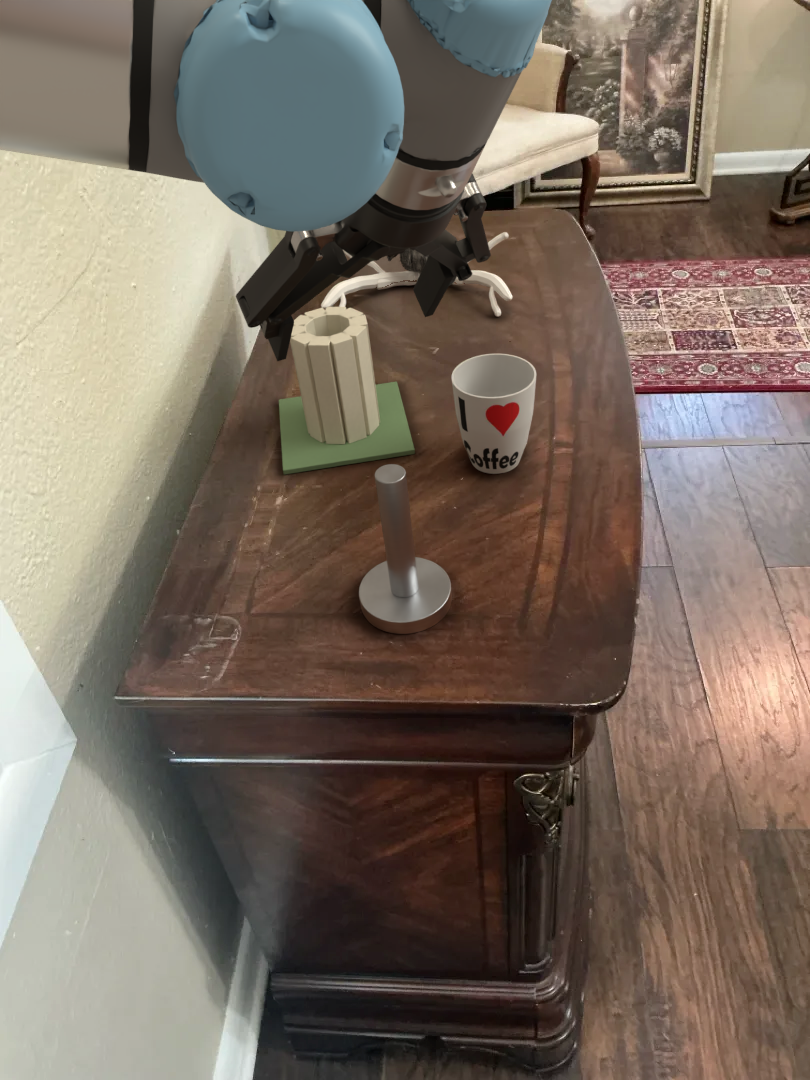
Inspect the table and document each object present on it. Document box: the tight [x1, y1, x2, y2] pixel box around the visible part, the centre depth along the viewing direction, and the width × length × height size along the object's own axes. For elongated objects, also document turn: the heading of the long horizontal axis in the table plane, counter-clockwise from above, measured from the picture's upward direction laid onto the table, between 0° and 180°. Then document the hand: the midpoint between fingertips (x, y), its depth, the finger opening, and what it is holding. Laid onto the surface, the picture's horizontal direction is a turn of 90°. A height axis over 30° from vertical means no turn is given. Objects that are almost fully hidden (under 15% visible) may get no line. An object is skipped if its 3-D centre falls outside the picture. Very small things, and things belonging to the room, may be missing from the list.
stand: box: [358, 463, 453, 635], centre depth 71 cm, size 8×8×14 cm
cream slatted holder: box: [289, 306, 380, 444], centre depth 92 cm, size 8×8×12 cm
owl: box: [320, 231, 514, 318], centre depth 114 cm, size 25×14×13 cm, turn 85°
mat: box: [278, 381, 416, 475], centre depth 96 cm, size 14×14×1 cm
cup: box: [451, 353, 537, 475], centre depth 86 cm, size 8×8×10 cm
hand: (351, 323), depth 73 cm, fingers open, 13 cm apart
